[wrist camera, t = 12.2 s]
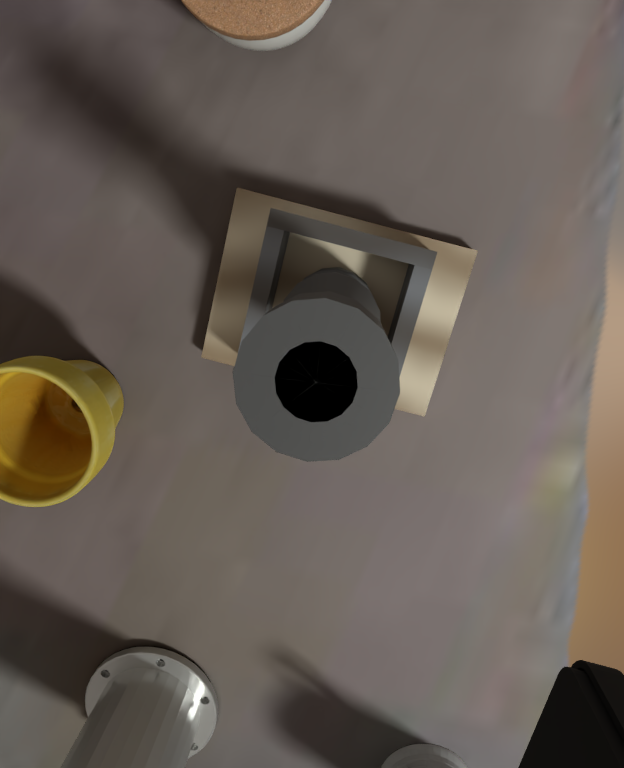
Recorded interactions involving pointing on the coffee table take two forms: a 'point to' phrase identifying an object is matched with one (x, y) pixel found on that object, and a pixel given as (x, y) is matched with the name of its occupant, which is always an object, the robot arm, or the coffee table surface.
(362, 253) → the socket board
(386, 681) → the coffee table surface
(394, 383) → the candle holder
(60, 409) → the plant pot
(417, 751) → the glass holder
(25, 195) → the coffee table surface
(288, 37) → the lidded jar
